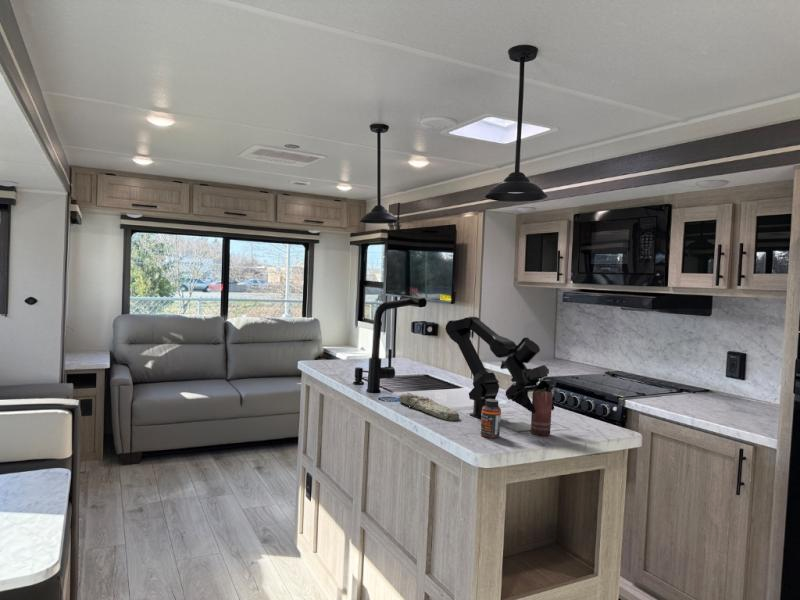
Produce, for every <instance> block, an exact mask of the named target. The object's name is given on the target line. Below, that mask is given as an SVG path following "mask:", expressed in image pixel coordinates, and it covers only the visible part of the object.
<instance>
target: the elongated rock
mask: <svg viewBox="0 0 800 600" xmlns="http://www.w3.org/2000/svg"><path fill="white" fill-rule="evenodd" d="M398 401H399V402H400V401H401V403H402V404H403V403H404V404H406V405H408V406H410V407H413V408H412V409H414V408H415V410H417V411H422V412H425V414H429V415H431V416H432V417H435V416H436V417H435V418H437V417H438V418H437V419H442V420H445V421H453V420H454V422H455V420H456V421H459V419H460V413H459V412H458V411H457V410H455V409H452V408H450V407H447V406H444V405H442V404H439V403H438V402H435V400H433V399H432V398H428V397H427V396H419V395H416V394H415V395H414V394H412V393H409V392H407V393H406V394H405V393H401V394H399V396H398ZM404 404H403V405H404ZM406 405H405V406H406ZM408 406H407V407H408ZM410 407H409V408H410Z"/></svg>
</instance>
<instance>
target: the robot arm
mask: <svg viewBox="0 0 800 600" xmlns="http://www.w3.org/2000/svg"><path fill="white" fill-rule="evenodd" d="M471 331H472V332H473V333H474V334H476V335H477V336H478V337H479V338H481V340H483V341H484V342H485V343H486V344H487V345H488V346H489V349H490V351H491V352H492V354H493V355H494V356H495V357H496V358H501V359H502V358H506V359H505V360H501V364H500V370H505V369H506V370H507V371H508V373H509V374H510V376H511V379H510V381H511V382H512V384H511V385H509V386H510V387H508V388H507V389H506V390H505V397H506V398H507V400H509V401H510V400H511V401H512V402H515V403H516V404H518V405H520V406H521V407H523V408H525V409H526V410H527V411H529V412H530V413H531V414H532V413H535V412H536V410H535V408H534V406H533V404H532V401H531V399H530V397H529V393H533V392H534V390H548V391H551V392H552V390H553V389H554V387H555V386H556V384H555V383H554V381H553V380H551V379H544V380H543V378H547V377H548V376H549V373H550V369H549V368H548V366H547V365H545V364H543V365H542V364H541V366H536V367H533V368H528V367H527V365H526V364H529V363H530V362H531V361H532V360H533V359H534V358H535V357H536V356H537V355H538V354H539V352H540V351H541V348H540V347H539V345H538V343H536V342H535V341H533V340H532V339H530V338H529V337H523V338H522V339H521V340H520V342H519V343H518V344H516V342H515V341H513V340H511V339H509V338H507V337H504V336H503V335H502V336H501V335H499V334H498V333H496V332H495V331H494V330H492V329H491V328H490V327H489V326H488V325H486V324H485V323H484V322H483V321H481V320H480V318H479V317H478V316H467V317H464V318H460V319H457V320H453V319H452V320H448V321H447V323H446V325H445V333H446V335H447V336H448V337H449V338H450V340H452V341H453V342H454V343H455V344H457V346H458V348H459V350H460V352H461V354H462V356H463V358H464V359H465V362H466V365H467V366H468V368H469V370H470V372H471V374H472V376H473V379H472V386H473V388H472V389H471V390H470V391H469V392H468V397H469V400H471V401H472V400H473V408H472V413H471V412H470V413H469V416H472V417H474V418H477V419H481V416H482V407H483V406H485V405H486V404H485V402H486V399H496V397H497V395H498V394H499V391H500V390H499V389H500V384H499V382H500V381H499V380H498V379H497V377H496V374H495V372H488V371H487V369H486V368H485V366H484V364H483V362H482V360H481V358H480V356H479V354H478V352H477V350H476V349H475V346H474V345H473V343H472V340H471V339H470V338H471V337H470V336H471ZM541 379H542V380H541ZM496 400H497V399H496ZM553 401H554V400H552V409H551V411H554V410H555V406H554V402H553Z"/></svg>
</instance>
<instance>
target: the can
mask: <svg viewBox="0 0 800 600" xmlns="http://www.w3.org/2000/svg"><path fill="white" fill-rule="evenodd" d="M552 401H553V393H552V391H548V390H534V392H532V401H531V402H532V404H533V406H534V408H535V410H536V412H535V413H532V412H531V417H530V418H531V419H530V425H531V431H530V434H532V435H533V434H534V436H537V435H538V436H537V437H548V436H547V435H549V436H550V434H551V423H552V410H551V409H552Z"/></svg>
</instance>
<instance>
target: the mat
mask: <svg viewBox="0 0 800 600" xmlns="http://www.w3.org/2000/svg"><path fill="white" fill-rule="evenodd" d="M500 427H502V428H503V427H504V428H506V429H508V430H511V431H513V432H516V433H525V432H524V431H527V432H531V423H527V422H525V421H515V422H506V423H501V422H500Z"/></svg>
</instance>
